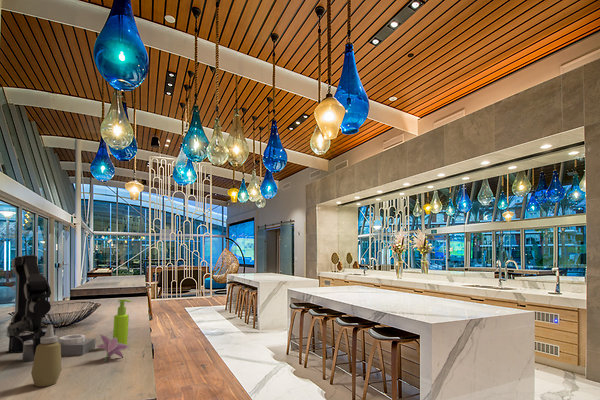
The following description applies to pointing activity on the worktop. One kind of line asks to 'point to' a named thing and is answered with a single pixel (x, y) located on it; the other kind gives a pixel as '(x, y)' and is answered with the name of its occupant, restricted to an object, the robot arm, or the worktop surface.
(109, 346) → the lily
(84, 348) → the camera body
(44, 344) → the squeeze bottle
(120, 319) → the soap dispenser
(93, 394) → the worktop surface
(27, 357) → the grey block
